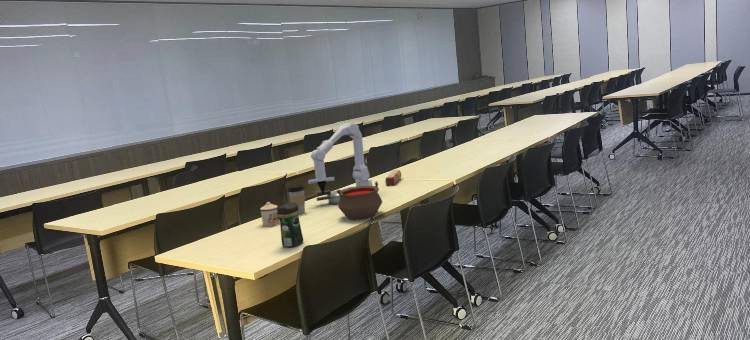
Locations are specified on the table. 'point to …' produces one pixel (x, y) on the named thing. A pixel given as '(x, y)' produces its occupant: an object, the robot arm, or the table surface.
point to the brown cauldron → (359, 201)
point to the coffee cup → (297, 197)
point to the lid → (328, 193)
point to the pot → (329, 199)
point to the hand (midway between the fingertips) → (323, 194)
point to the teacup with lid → (269, 215)
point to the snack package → (393, 178)
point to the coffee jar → (290, 225)
